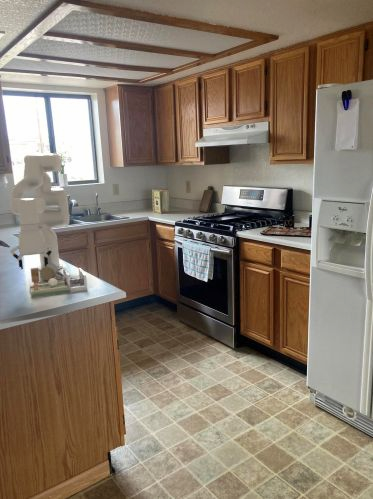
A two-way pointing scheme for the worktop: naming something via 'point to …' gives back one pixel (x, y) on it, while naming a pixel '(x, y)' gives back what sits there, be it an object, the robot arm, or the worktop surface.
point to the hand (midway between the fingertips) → (34, 267)
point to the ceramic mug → (50, 272)
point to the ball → (52, 282)
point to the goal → (75, 281)
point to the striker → (35, 277)
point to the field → (48, 289)
